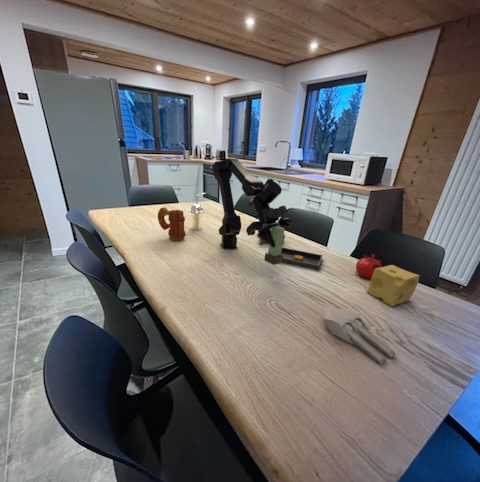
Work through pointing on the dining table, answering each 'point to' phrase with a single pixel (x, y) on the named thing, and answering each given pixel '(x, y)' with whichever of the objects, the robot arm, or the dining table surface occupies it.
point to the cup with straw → (196, 214)
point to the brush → (275, 253)
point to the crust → (298, 258)
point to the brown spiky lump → (264, 240)
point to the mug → (172, 223)
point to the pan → (308, 258)
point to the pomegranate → (367, 266)
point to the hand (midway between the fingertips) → (278, 246)
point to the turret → (355, 331)
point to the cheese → (393, 284)
